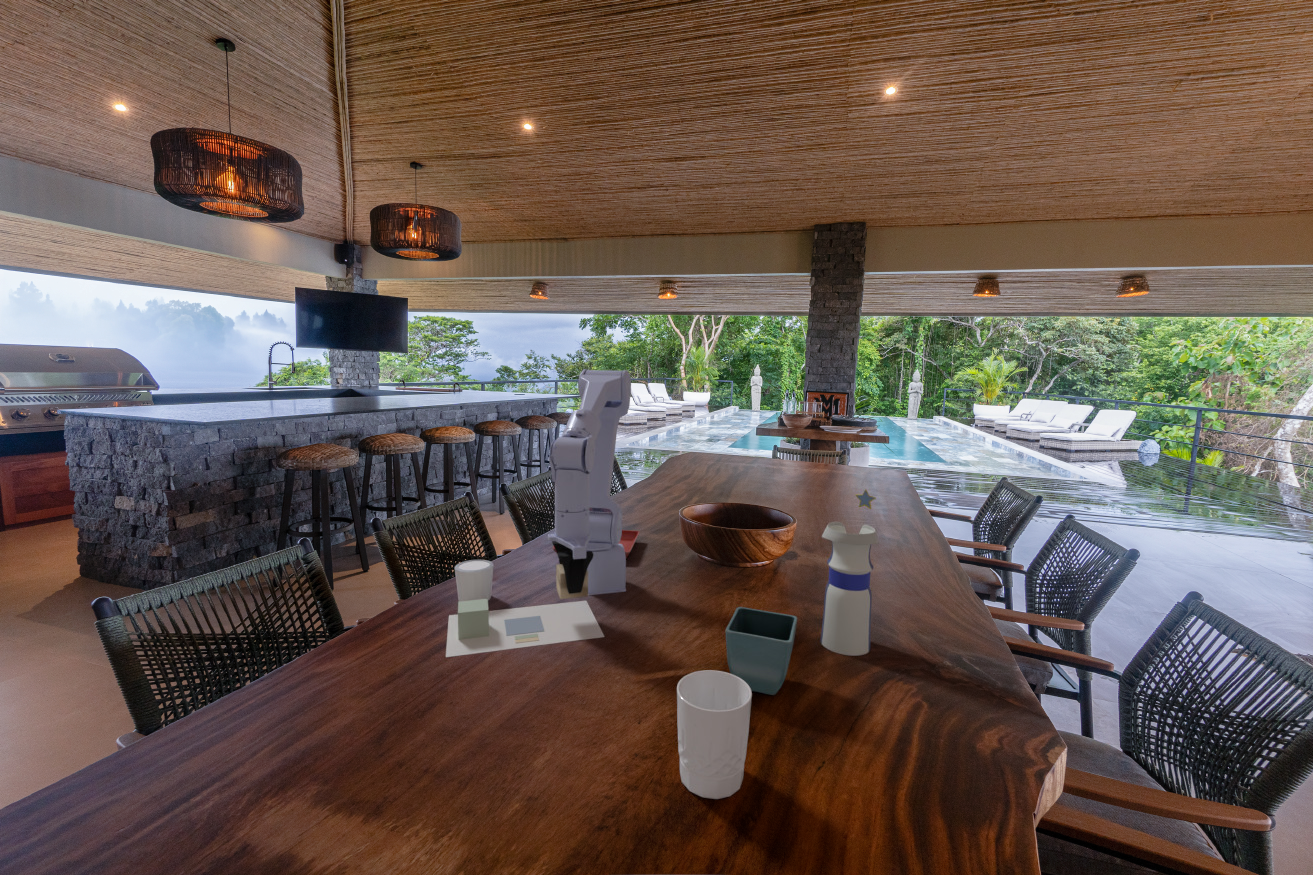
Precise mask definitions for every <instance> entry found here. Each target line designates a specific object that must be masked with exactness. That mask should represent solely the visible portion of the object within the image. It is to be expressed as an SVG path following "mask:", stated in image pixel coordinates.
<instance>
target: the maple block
mask: <svg viewBox="0 0 1313 875" xmlns="http://www.w3.org/2000/svg"><path fill="white" fill-rule="evenodd" d="M555 566H556V567H555V568H556V570H555V574H556V577H555V580H556V588H555V589H556V592H557V594H558V597H559V599H560V600H566V599H567V600H568V599H577V598H584V597H586V598H587V597H589V595H588V570H587V571H586V574H585V579H584V583H583V588H582V591H581V593H572V594H569V592H568V589H567V585H566V578H565V572H564V568H563V565H562V564H560V563H559V564H557V563H556V565H555Z"/></svg>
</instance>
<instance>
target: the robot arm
mask: <svg viewBox="0 0 1313 875" xmlns="http://www.w3.org/2000/svg"><path fill="white" fill-rule="evenodd" d="M577 382H578V394H579V396H580V400H581V402H580V405H579V409H576V410H574V411H572V413H571V414H570V416H569V418H568V421H567V423H566V425H565V428H564V430H563V431H562V434H561V436H559V437H557V438H556V439H553V440H552V442H551V444H550V446H549V456H548V461H549V467H550V471H551V481H552V482H553V483H554V532H553V533H548V534H547V540H548V541H549V542H551V543H552V546H554V547H555V549H556V552H557V553H556V552H555V553H556V555H557V557H558V561H559V562H558V563H559V564H562V565H563V568H564V572H565V578H566V585H567V589H568V592H569V594H572V593H581V591H582V588H583V583H584V579H585V574H586V571H587V570H588V596H594V595H603V594H613V593H614V594H615V593H622V592H623V593H624V592H626V591H627V589H626V586H627V585H626V577H627V576H626V573H627V572H626V568H627V567H626V566H627V560H626V559H627V557H626V556H625V550H624V547H623V545H622V544H618V543H619V542H620V539H621V535H622V530H623V511H622V510H623V509H622V507H621V505H620V504H619V503H618V502H616V501H615V500H614V499H613V498H612V497H611V491H612V490H611V489H612V479H613V471H614V462H615V454H616V451H615V450H616V442H617V434H618V427H619V423H620V420H621V418H622V417H625V416H626V415H628V413H629V409H630V403H631V395H632V394H631V393H632V378H631V373H630V372H629V371H628V370H627V369H624V370H605V369H604V370H602V369H601V370H600V369H599V370H597V369H586V368H583V369H582V371H581V372H580V373H579V376H578V381H577Z"/></svg>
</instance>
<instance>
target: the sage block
mask: <svg viewBox="0 0 1313 875" xmlns="http://www.w3.org/2000/svg"><path fill="white" fill-rule="evenodd" d="M489 611H490V610H489V600H488V599H479V600H469V601H459V600H458V601H457V614H458V640H461V639H469V638H477V637H485V636H489Z"/></svg>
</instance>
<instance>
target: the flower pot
mask: <svg viewBox="0 0 1313 875" xmlns="http://www.w3.org/2000/svg"><path fill="white" fill-rule="evenodd" d="M797 624H798V617H797V615H792V614H787V613H780V612H773V611H767V610H763V609H762V610H761V609H755V608H751V607H750V608H749V607H744V606H738V607H736V609H735V610H734V613H733V615H732V616H731V619H730V620H729V622H728V625H727V626H726V627H725V641H726V642H725V644H726V646H725V647H726V660H727V665H728V668H729V672H730V674H733V675H735V676H737V677H739V678H741V679H742V680H744V681H745V682H746V683H747V684H748V685H749V687H750V688H751V691H752V692H757V693H762V694H765V695H771V696H775V695H776V694H777V693H778V692H779V690H780V689H781V688H782V687H783V684H784V682H785V680H786V677H787V673H788V669H789V664H790V660H791V655H792V652H793V647H794V643H795V642H794V641H795V636H796V630H797Z"/></svg>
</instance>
